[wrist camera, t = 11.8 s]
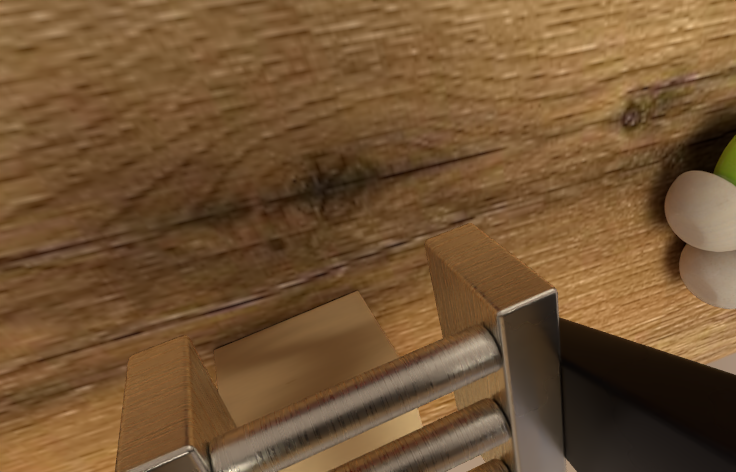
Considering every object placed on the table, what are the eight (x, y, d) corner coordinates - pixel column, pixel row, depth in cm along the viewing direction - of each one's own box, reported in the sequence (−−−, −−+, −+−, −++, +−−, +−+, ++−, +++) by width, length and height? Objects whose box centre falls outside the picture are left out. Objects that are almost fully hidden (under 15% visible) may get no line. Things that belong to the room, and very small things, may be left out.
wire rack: (235, 530, 8) (251, 665, 7) (125, 355, 6) (109, 483, 5) (497, 406, 9) (569, 498, 8) (470, 220, 7) (559, 288, 6)
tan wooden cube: (265, 449, 22) (287, 557, 18) (212, 350, 19) (224, 451, 15) (389, 392, 23) (438, 481, 19) (358, 289, 20) (407, 368, 16)
